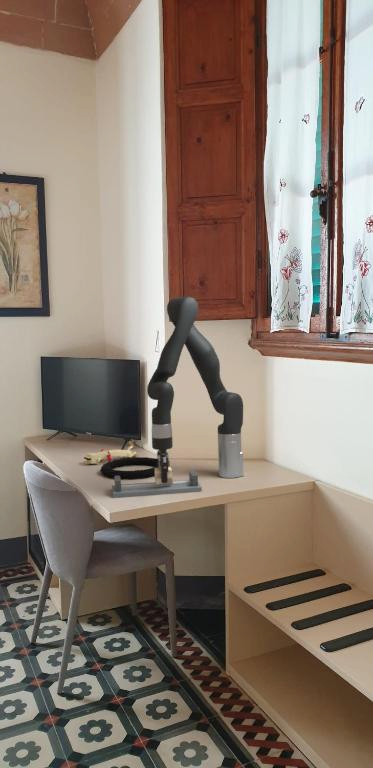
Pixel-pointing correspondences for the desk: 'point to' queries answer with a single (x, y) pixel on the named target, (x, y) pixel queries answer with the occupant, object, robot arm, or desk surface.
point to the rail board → (156, 487)
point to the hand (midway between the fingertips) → (163, 480)
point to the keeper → (158, 476)
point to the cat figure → (109, 455)
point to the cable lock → (136, 474)
